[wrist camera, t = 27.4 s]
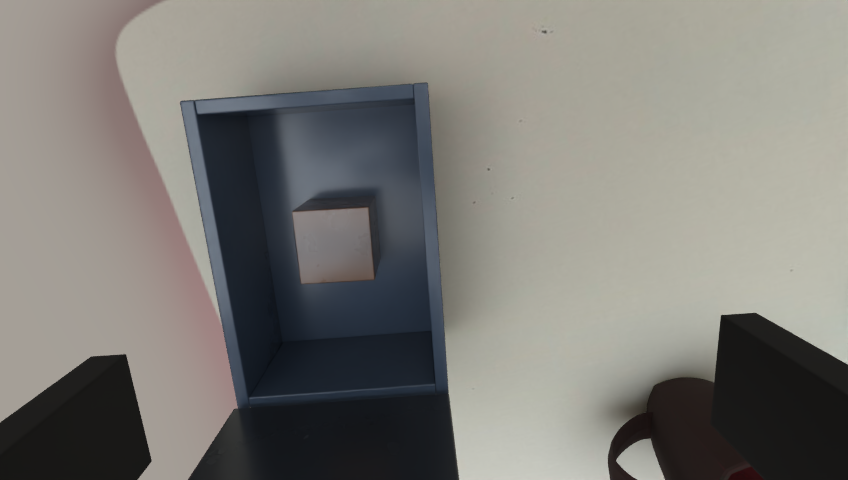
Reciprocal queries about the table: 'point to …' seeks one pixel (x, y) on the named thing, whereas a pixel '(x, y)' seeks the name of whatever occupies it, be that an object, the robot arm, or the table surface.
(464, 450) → the table surface
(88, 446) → the robot arm
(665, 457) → the mug
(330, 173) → the blue box
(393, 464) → the box lid
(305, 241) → the block
